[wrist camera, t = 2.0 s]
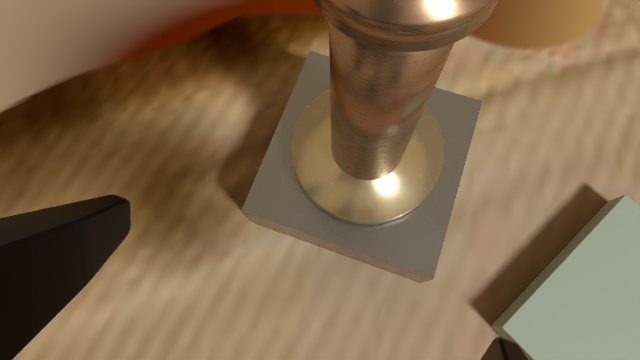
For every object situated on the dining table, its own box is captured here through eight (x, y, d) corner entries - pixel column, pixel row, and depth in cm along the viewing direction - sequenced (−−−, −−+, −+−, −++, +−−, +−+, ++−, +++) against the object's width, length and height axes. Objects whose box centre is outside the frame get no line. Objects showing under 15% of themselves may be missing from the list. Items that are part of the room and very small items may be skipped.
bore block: (420, 282, 22) (433, 279, 19) (252, 222, 23) (240, 210, 20) (464, 124, 25) (481, 101, 22) (312, 78, 26) (309, 50, 23)
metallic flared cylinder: (442, 222, 22) (656, 54, 8) (307, 244, 22) (255, 118, 7) (411, 102, 25) (529, -209, 10) (289, 121, 25) (221, -164, 10)
